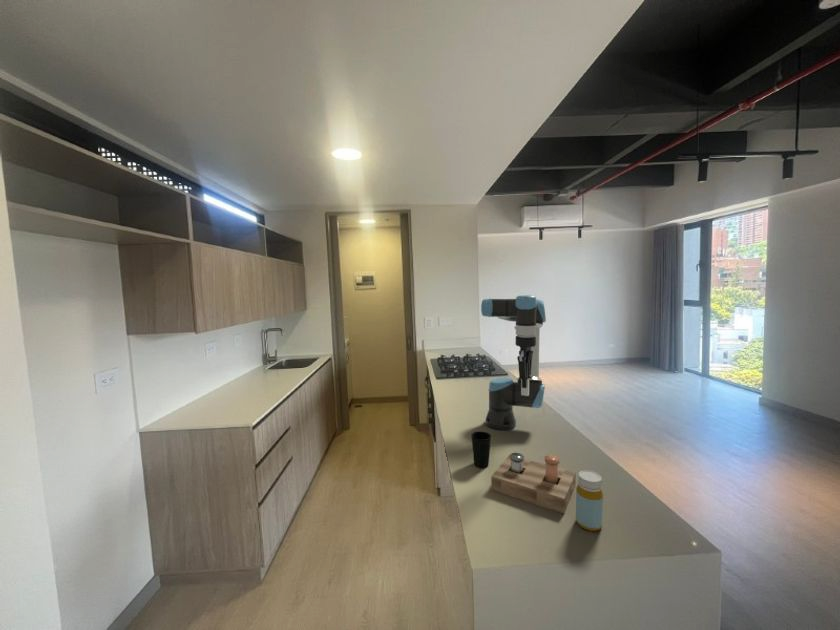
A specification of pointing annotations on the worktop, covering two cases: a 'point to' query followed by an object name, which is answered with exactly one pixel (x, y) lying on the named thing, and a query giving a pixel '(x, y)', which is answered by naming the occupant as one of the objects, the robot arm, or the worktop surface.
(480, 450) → the cup
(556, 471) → the terracotta plug
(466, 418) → the worktop surface
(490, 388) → the robot arm
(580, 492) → the bottle
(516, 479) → the block
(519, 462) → the grey plug
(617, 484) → the worktop surface
